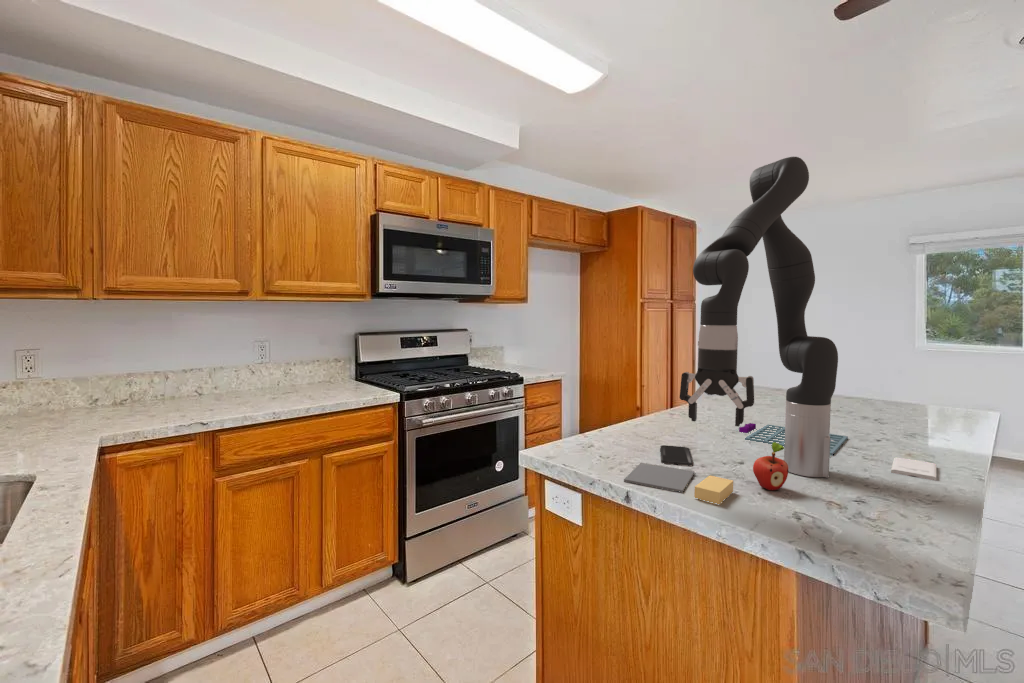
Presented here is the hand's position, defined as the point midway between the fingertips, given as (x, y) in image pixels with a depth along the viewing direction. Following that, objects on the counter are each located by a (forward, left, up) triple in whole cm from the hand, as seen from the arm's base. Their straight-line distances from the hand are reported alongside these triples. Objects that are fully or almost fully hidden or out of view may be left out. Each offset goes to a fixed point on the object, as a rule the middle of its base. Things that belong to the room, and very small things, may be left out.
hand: (715, 423), depth 98 cm
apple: (-10, -11, -16) cm, 22 cm away
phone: (+13, -24, -16) cm, 32 cm away
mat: (+12, -5, -16) cm, 21 cm away
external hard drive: (-40, -43, -17) cm, 61 cm away
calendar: (-12, -60, -17) cm, 63 cm away
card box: (0, 0, -16) cm, 16 cm away
